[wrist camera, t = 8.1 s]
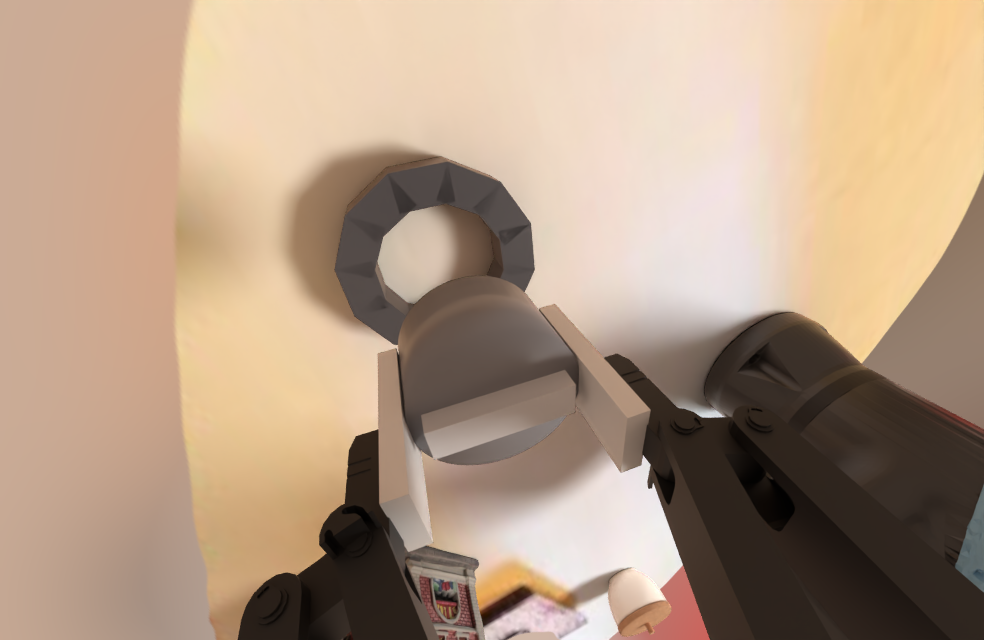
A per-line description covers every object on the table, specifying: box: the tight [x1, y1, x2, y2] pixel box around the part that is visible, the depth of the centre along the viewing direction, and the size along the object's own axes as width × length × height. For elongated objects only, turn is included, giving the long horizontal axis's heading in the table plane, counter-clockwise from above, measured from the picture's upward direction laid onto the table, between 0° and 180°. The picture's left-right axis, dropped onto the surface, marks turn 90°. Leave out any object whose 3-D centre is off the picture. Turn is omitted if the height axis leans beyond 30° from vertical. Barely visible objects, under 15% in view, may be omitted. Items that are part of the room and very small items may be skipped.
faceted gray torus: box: [335, 157, 535, 345], centre depth 24 cm, size 13×13×2 cm
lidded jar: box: [608, 568, 671, 637], centre depth 67 cm, size 11×11×9 cm
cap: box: [398, 276, 579, 465], centre depth 14 cm, size 6×6×5 cm
